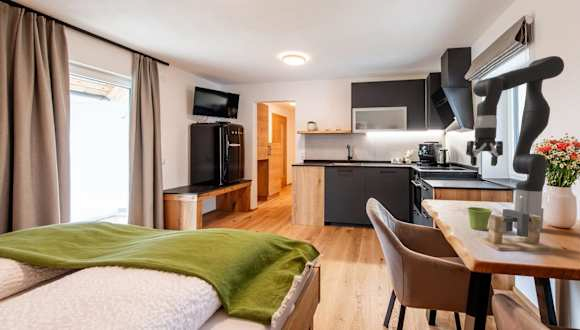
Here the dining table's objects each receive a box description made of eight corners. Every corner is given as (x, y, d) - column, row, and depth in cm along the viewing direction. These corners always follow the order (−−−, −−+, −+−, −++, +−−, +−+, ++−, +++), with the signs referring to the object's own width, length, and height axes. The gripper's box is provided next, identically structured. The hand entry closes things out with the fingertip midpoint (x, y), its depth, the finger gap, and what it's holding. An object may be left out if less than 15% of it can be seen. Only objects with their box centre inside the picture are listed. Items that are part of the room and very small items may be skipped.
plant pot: (495, 232, 126) (496, 212, 126) (470, 230, 128) (471, 210, 128) (485, 226, 135) (486, 207, 135) (462, 225, 137) (463, 206, 137)
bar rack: (527, 240, 116) (528, 212, 115) (553, 250, 105) (555, 219, 104) (476, 240, 115) (478, 212, 114) (497, 250, 104) (499, 219, 103)
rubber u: (508, 229, 114) (509, 209, 114) (528, 236, 105) (529, 214, 105) (502, 229, 114) (502, 209, 113) (521, 236, 105) (522, 214, 104)
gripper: (495, 127, 129) (493, 165, 130) (463, 127, 128) (461, 165, 129) (509, 126, 121) (506, 166, 122) (475, 126, 121) (473, 166, 122)
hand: (483, 165), depth 126 cm, fingers open, 8 cm apart
